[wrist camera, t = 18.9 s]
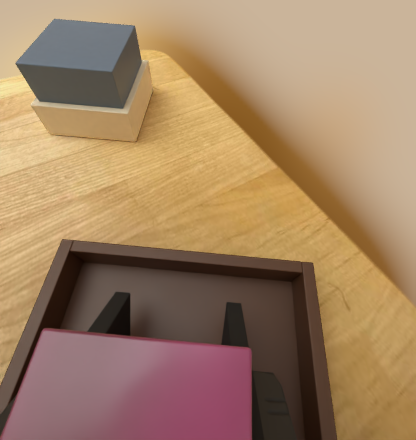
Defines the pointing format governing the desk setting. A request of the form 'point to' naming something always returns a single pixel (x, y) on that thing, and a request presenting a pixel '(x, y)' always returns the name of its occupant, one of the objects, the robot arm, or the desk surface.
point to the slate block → (82, 63)
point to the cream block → (100, 114)
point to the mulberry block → (132, 390)
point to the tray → (193, 313)
